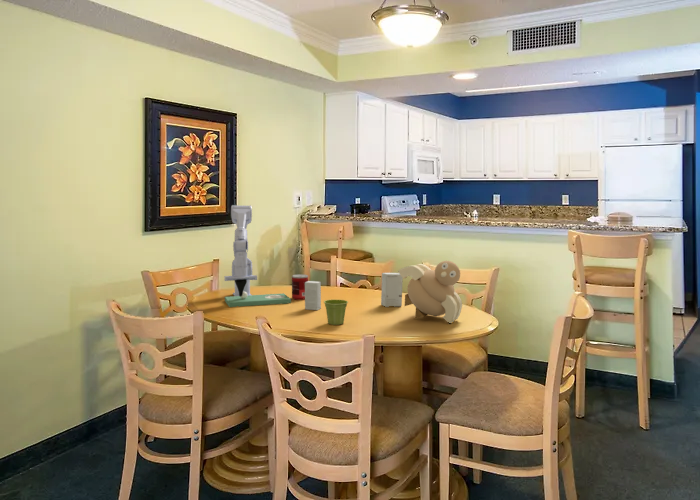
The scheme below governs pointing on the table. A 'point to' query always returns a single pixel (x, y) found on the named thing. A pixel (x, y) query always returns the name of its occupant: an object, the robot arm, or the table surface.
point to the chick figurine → (433, 290)
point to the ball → (244, 295)
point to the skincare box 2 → (391, 289)
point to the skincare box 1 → (312, 295)
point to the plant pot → (335, 311)
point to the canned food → (299, 286)
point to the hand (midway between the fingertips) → (240, 296)
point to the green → (257, 300)
